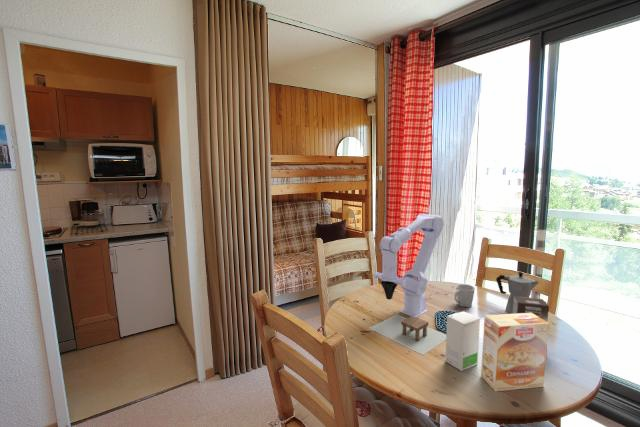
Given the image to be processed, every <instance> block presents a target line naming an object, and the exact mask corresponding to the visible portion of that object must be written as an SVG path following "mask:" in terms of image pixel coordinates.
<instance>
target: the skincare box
mask: <svg viewBox="0 0 640 427" xmlns="http://www.w3.org/2000/svg"><path fill="white" fill-rule="evenodd" d="M480 320H481V317H478V316H475V315H473V314H470V313H469V312H466V311H464V310H463V311H460V312H454V313H453V314H449V315H447V316H446V333H445V334H446V340H445V360H444V361H445V362H446V363H447V364H449V365H451V367H454V368H456V369H457V370H459V371H460V372H463V371H465V370H467V369H470V368H472V367H474V366H477V365H478V364H479V344H480V340H479V339H480V322H481V321H480Z"/></svg>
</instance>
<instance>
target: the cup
mask: <svg viewBox="0 0 640 427" xmlns="http://www.w3.org/2000/svg"><path fill="white" fill-rule="evenodd" d="M455 289H456V290H455V292H454V296H453V297H454V301H455V302H456V303H457V304H458V306H460V307H462V308H470V307H472V306H473V300H474V297H475V296H474V294H475V289H476V288H475V286H473V285H470V284H465V283H464V284H463V283H459V284H457V285H456V286H455Z"/></svg>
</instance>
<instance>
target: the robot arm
mask: <svg viewBox="0 0 640 427" xmlns="http://www.w3.org/2000/svg"><path fill="white" fill-rule="evenodd" d="M444 225H445V222H444V219H443V217H442V215H439V214H437V215H435V214H428V213H424V212H423V213H421V212H420V214H419V215H417V216H416V217H415V220H414V221H412V222H411V223H410V224H409V225H407V227H403V226H401V227H399V228H398V229H397V230H396V231H394V232H393V233H392V232H391V233H390V235H388V236H387V235H386V236H382V238H381V240H380V241H379V243H378V245H379V249H380V250H381V251H380V252H381V255H382V256H381V258H382V259H381V260H382V262H381V264H382V268H381V269H382V271H381V272H377V271H376V272H374V273H373V278H374V279H380V280H381V281H380V285H381V286H382V288H383V291H384V294H385V299H387V300H392V299H393V295H394V292H395V290H396V288H397V287H398V286H400V288H401V289H402V292H403V293H404V295H403V309H400V310H399V312H400V313H402V314H404V315H406V316H407V315H408V316H409V317H411V316H414V317H417V318H418V317H419V316H422V315H424V314H426V313H427V312H428V310H427V308H426V305H427V304H426V303H427V297H426V294H425V292H426V290H427V283H428V278H427V276H426V275H425V272H426V270H427V268H428V265H429V262H430V259H431V257H432V256H433V252H434V249H435V247H436V245H437V242H438V240H439V237H440V236H441V233H442V231H443V228H444ZM418 231H421V233H422V234H423V235H424V238H423V240H422V243H421V245H420V248H419V250H418V253H417V256H416V258H415V259H414V260H415V261H414V263H413V266H412V268H411V269H409V270H407V271H405V274H404V275H403V276H402V277H399V276H398V274H397V273H398V252H399V251H400V250H401V247H402V246H403V244H405V243H407V242H408V241H409V240H411V236H412V235H413V234H416V232H418Z"/></svg>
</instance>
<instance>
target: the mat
mask: <svg viewBox="0 0 640 427" xmlns="http://www.w3.org/2000/svg"><path fill="white" fill-rule="evenodd" d="M407 318H408V317H404V316H402V315H400V314H394V315H392V316H391V317H389V318H387V319H384V320H383V321H381V322H378V323H377V324H375V325H372V326H371V327H369V328H368V329H369V330H372V331H374V332H375V333H378V334H379V335H381V336H384V337H385V338H387V339H389V340H391V341H394V342H395V343H398V344H400V345H402V346H404V347H406V348H408V349H410V350H412V351H414V352H416V353H418V354H420V355H422V356H424V355H425V354H427V353H428V352H430V351H431V350H432V349H434V348H436V347H437V346H439V345H440V344H441V343H443V342H444V341H446V333H443V332H441V331H438V330H436V329H433V328H431V327H429V326H427V336H426V337H424V336H423V329H421V330H420V334H419V341H416V340H415V332H416V331H415V330H414V331H411V330H410V328H408V327H406V335H403V334H402V331H403V325H401V321H403V320H405V319H407Z"/></svg>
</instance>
